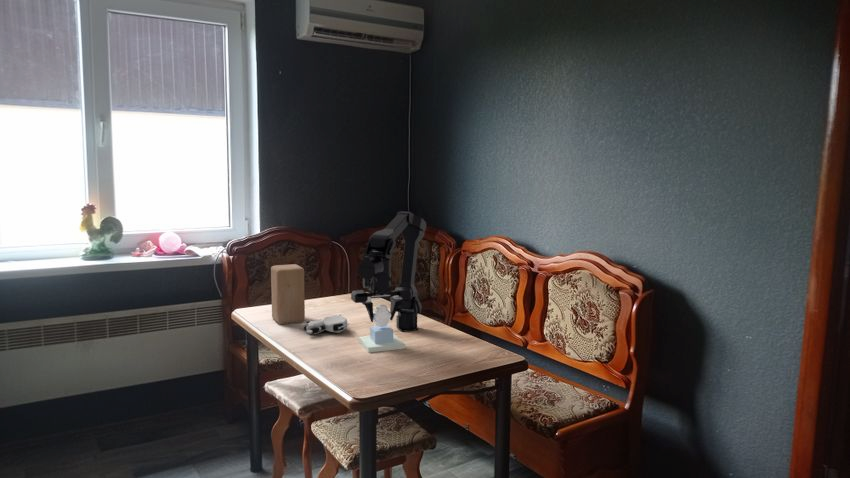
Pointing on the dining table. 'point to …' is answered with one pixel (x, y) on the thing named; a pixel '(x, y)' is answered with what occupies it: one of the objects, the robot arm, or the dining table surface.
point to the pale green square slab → (373, 347)
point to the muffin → (381, 315)
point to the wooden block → (287, 293)
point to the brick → (381, 334)
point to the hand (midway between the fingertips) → (381, 320)
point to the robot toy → (326, 325)
